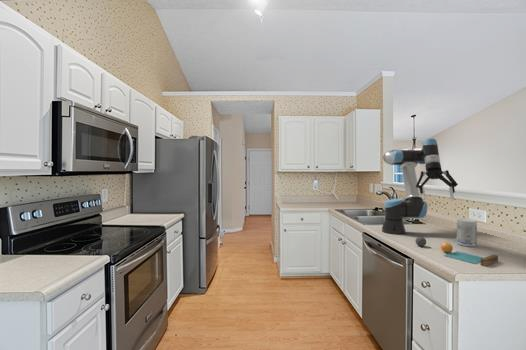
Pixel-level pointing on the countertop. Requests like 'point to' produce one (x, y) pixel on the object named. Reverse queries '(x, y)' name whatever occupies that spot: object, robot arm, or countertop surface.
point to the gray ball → (420, 241)
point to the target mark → (465, 257)
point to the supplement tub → (467, 232)
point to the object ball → (446, 247)
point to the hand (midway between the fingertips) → (438, 198)
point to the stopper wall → (489, 260)
